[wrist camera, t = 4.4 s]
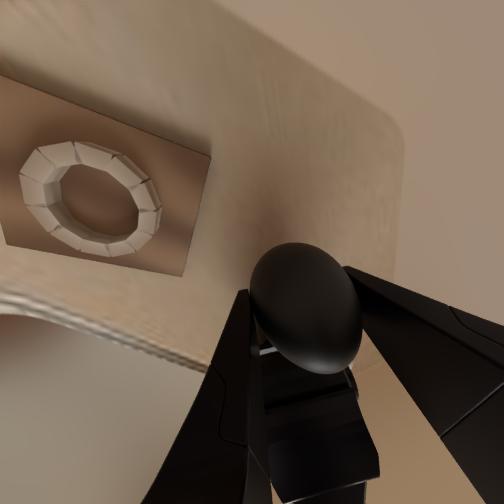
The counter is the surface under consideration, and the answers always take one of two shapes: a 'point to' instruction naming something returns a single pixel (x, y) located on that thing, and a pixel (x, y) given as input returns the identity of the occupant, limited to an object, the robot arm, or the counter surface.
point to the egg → (307, 307)
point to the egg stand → (94, 184)
